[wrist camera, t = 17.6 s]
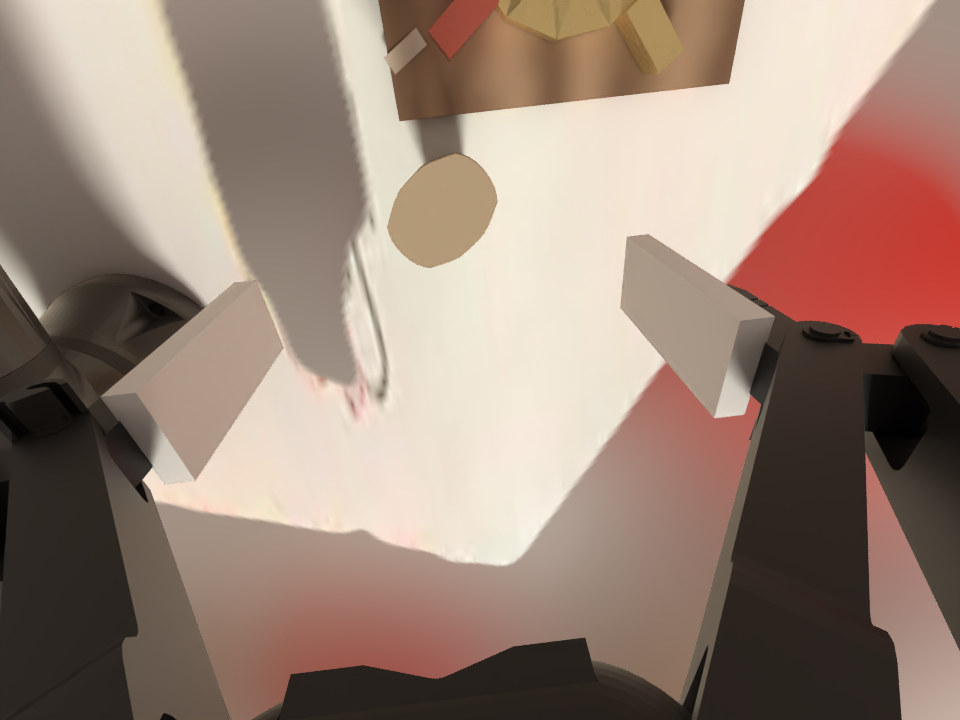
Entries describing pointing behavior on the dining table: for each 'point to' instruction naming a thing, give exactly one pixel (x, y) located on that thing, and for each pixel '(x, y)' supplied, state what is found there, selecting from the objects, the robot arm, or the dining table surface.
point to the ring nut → (567, 24)
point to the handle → (442, 210)
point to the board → (545, 60)
